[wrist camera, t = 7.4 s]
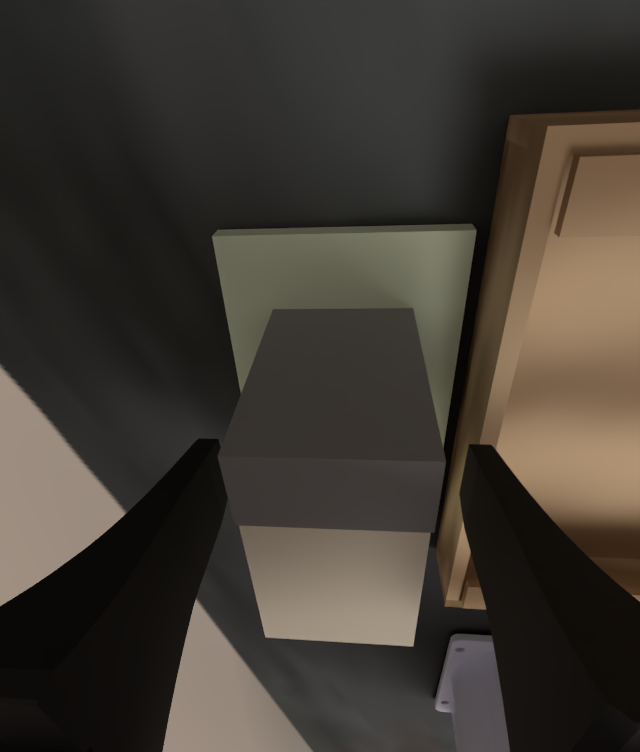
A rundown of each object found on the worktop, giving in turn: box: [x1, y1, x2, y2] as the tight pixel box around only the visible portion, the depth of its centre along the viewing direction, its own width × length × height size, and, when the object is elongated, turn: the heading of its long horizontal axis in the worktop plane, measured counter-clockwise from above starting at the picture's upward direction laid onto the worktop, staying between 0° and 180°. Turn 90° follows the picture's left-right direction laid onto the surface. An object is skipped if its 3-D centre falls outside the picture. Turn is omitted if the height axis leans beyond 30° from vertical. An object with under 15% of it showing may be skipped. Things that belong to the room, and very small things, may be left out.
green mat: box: [212, 224, 477, 447], centre depth 15 cm, size 12×7×1 cm, turn 3°
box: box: [218, 308, 446, 647], centre depth 12 cm, size 7×4×6 cm, turn 3°
